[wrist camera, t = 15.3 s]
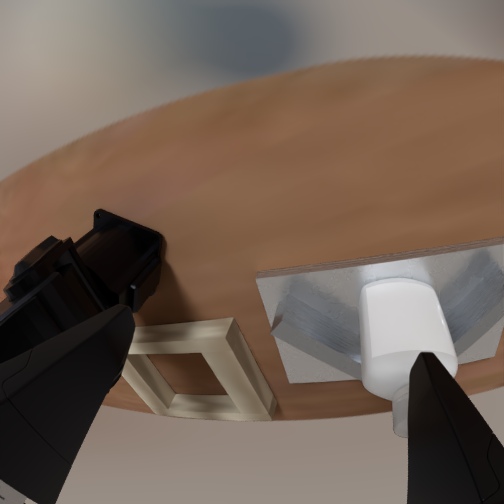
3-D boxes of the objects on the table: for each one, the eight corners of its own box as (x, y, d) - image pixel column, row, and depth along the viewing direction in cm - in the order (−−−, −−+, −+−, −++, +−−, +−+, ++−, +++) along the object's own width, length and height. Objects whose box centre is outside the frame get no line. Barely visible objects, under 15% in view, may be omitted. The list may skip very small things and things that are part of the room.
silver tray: (258, 271, 24) (245, 305, 20) (514, 234, 17) (539, 263, 14) (291, 375, 29) (284, 408, 25) (491, 348, 22) (502, 380, 19)
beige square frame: (163, 399, 37) (155, 414, 35) (109, 328, 32) (97, 343, 30) (277, 402, 32) (272, 420, 29) (233, 317, 26) (225, 337, 24)
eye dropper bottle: (384, 255, 20) (412, 417, 9) (442, 291, 20) (486, 437, 10) (348, 300, 22) (344, 457, 12) (405, 330, 22) (422, 473, 12)
